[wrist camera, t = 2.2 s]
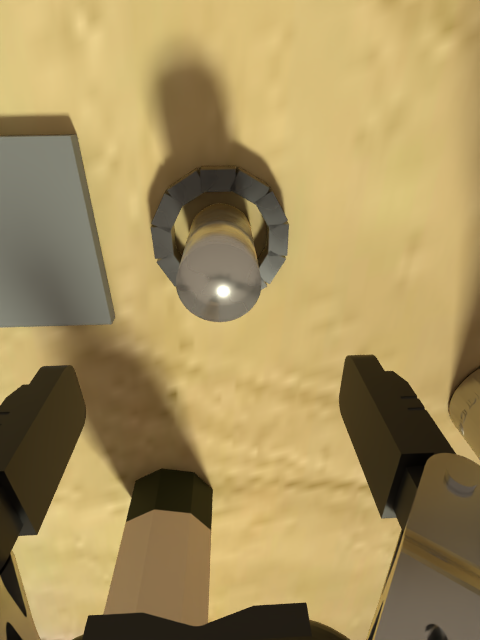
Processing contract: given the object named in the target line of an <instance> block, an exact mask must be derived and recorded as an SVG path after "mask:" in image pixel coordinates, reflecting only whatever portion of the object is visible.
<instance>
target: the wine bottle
mask: <svg viewBox="0 0 480 640" xmlns="http://www.w3.org/2000/svg"><path fill="white" fill-rule="evenodd" d="M212 494H213V489H211V488H210V487H209V486H208V485H207V484H206V483H205V482H204V481H203V480H202V479H201V478H200V477H198V476H197V475H196V474H195V473H193V472H185V471H177V470H168V469H160V470H158V471H156V472H154V473H151V474H149V475H147V476H145V477H143V478H141V479H139V480H137V481H136V483H135V487H134V491H133V495H132V499H131V503H130V507H129V511H128V515H127V520H126V524H125V528H124V532H123V536H122V540H121V544H120V548H119V552H118V557H117V561H116V565H115V569H114V573H113V577H112V581H111V585H110V589H109V594H108V598H107V602H106V606H105V610H104V614H103V615H107V614H124V613H141V612H143V613H147V614H150V615H154V616H158V617H162V618H165V619H169V620H173V621H176V622H180V623H184V624H187V625H191V626H202V625H205V624H207V623H208V605H209V577H210V550H211V522H212Z"/></svg>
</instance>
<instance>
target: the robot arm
mask: <svg viewBox="0 0 480 640" xmlns="http://www.w3.org/2000/svg"><path fill="white" fill-rule="evenodd" d="M339 406H340V412H341V415H342V418H343V421H344V423H345V426H346V428H347V431H348V434H349V436H350V439H351V441H352V444H353V446H354V449H355V452H356V454H357V457H358V459H359V462H360V464H361V467H362V470H363V472H364V475H365V477H366V480H367V482H368V485H369V488H370V490H371V493H372V495H373V498H374V500H375V503H376V506H377V508H378V511H379V513H380V516H381V518H397V519H398V522H399V524H400V526H401V529H402V530H401V532H400V535H399V538H398V542H397V545H396V548H395V551H394V554H393V558H392V561H391V564H390V567H389V570H388V574H387V577H386V580H385V583H384V586H383V590H382V593H381V596H380V599H379V602H378V605H377V608H376V611H375V614H374V617H373V620H372V623H371V626H370V629H369V632H368V635H367V638H366V640H480V465H478V464H477V463H475V462H473V461H472V460H470V459H468V458H466V457H463V456H460V455H457V454H456V453H455V452H454V450H453V449H452V447H451V446H450V444H449V443H448V441H447V440H446V438H445V437H444V435H443V434H442V432H441V431H440V429H439V428H438V426H437V425H436V423H435V422H434V421H433V419H432V418H431V416H430V415H429V413H428V412H427V410H425V409H424V406H423V404H422V403H421V401H420V400H419V399H417V395H416V394H415V392H414V391H413V389H412V388H411V386H410V385H409V383H408V382H407V381H405V380H404V379H403V378H401V377H400V376H399V375H397V374H396V373H395V372H394V371H384V369H383V368H382V366H381V365H380V363H379V361H378V360H377V358H376V357H375V356H374V355H350V356H347V357H346V359H345V363H344V369H343V375H342V381H341V388H340V394H339ZM449 414H450V417H451V420H452V422H453V423H454V425H455V426H456V428H457V429H458V430H459V432H460V433H461V435H462V436H463V437H464V439H465V440H466V441H467V443H468V444H469V446H470V447H471V448H472V450H473V451H474V453H475V454H476V455H477V457H478V458H479V460H480V368H479V369H478V370H476V371H475V372H473V373H472V374H470V375H469V376H468V377H467V378H466V379H465V380H464V381H463V382H462V383H461V384H460V385H459V387H458V388H457V389H456V391H455V392H454V394H453V396H452V398H451V402H450V406H449ZM85 418H86V407H85V402H84V399H83V396H82V393H81V389H80V386H79V383H78V379H77V376H76V373H75V370H74V368H73V367H72V366H70V365H66V366H43V367H41V368H40V369H39V371H38V372H37V374H36V375H35V377H34V378H33V379H32V381H31V382H30V384H29V385H22V386H21V387H19V388H18V389H17V390H16V391H14V392H13V393H12V394H10V395H9V396H8V397H6V399H5V400H4V401H3V403H2V404H1V405H0V640H41V639H40V637H39V635H38V632H37V630H36V627H35V625H34V621H33V618H32V615H31V611H30V608H29V604H28V601H27V597H26V593H25V590H24V586H23V583H22V579H21V576H20V572H19V569H18V565H17V562H16V558H15V555H14V553H13V551H12V548H13V546H14V544H15V542H16V540H17V538H18V536H25V535H37V534H38V532H39V529H40V527H41V525H42V522H43V520H44V518H45V515H46V513H47V511H48V508H49V506H50V504H51V501H52V499H53V497H54V494H55V492H56V490H57V487H58V485H59V483H60V480H61V478H62V476H63V473H64V471H65V469H66V466H67V464H68V462H69V459H70V457H71V455H72V452H73V450H74V448H75V445H76V443H77V441H78V438H79V436H80V434H81V431H82V429H83V427H84V423H85ZM73 640H350V639H348V638H347V637H346V636H345V635H343V634H341V633H339V632H338V631H336V630H334V629H333V628H331V627H328V626H326V625H324V624H321V623H319V622H315V621H312V620H309V616H308V610H307V604H306V603H292V604H276V605H259V606H252V607H249V608H246V609H244V610H241V611H239V612H236V613H233V614H231V615H228V616H226V617H223V618H220V619H218V620H215V621H213V622H210V623H207V624H205V625H202V626H191V625H187V624H184V623H180V622H176V621H173V620H169V619H165V618H162V617H158V616H154V615H150V614H147V613H143V612H141V613H124V614H107V615H90V616H88V619H87V623H86V626H85V630H84V634H83V635H81V636H79V637H76V638H75V639H73Z"/></svg>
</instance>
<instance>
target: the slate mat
mask: <svg viewBox="0 0 480 640" xmlns="http://www.w3.org/2000/svg"><path fill="white" fill-rule="evenodd" d="M114 319H115V313H114V309H113V304H112V299H111V295H110V290H109V285H108V280H107V276H106V271H105V266H104V261H103V257H102V252H101V247H100V242H99V238H98V233H97V228H96V224H95V219H94V214H93V209H92V205H91V200H90V195H89V190H88V186H87V181H86V176H85V171H84V167H83V162H82V157H81V152H80V148H79V143H78V138H77V135H27V136H0V327H33V326H68V325H103V324H112V323H113V321H114Z"/></svg>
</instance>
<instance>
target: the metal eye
mask: <svg viewBox="0 0 480 640" xmlns="http://www.w3.org/2000/svg"><path fill="white" fill-rule="evenodd" d="M225 191H233V192H235V193H236V194H238V195H240V196H242V197H243V198H245V199H247V200H248V201H250V202H252V203H254V204H255V205H257V207H258V209H259V211H260V212H261V214H262V216H263V218H264V220H265V221H266V223H267V234H266V247H265V248H264V250H263V251H262V253H261V255H260V256H259V258H258V260H257V261H258V266H259V271H260V275H261V290H262V289H263V288H265V287H267V284H266V282H267V283H269V284H270V283H271V281H272V280H273V278H274V277H275V275H276V274H277V272H278V271H279V269H280V267H281V266H282V264H283V263H284V261H285V260H286V258H285V256H286V255H287V249H288V230H289V224H288V222H287V221H288V220H287V218H286V216H285V214H284V212H283V210H282V208H281V206H280V204H279V203H278V201H277V199H276V197H275V195H274V193H273V191H272V189H271V188H270V187H269V186H268V184H267V183H265V182H264V181H262V180H260V179H259V178H257V177H255V176H254V175H252V174H250V173H249V172H247V171H245V170H244V169H242V168H240V167H238V169H237V171H235V166H201V169H200V170H199V169H198V168H196V169H195V170H193V171H192V172H190V173H189V174H187V175H186V176H184V177H183V178H181V179H180V180H178V181H177V182H175V183H174V184H172V185H171V186H170V187H169V188H168V189H167V191H166V192H165V194H164V196H163V198H162V200H161V203H160V205H159V207H158V209H157V212H156V214H155V216H154V218H153V221H152V223H151V224H153V225H152V226H151V233H152V240H153V247H154V255H155V259H158V260H157V264H158V265H159V266H160V267H161V269H162V270H163V271H164V273H165V274H166V275H167V277H168V278H169V279H170V281H171V282H172V283H173V285H174V286H176V277H177V273H178V269H179V266H180V262H181V259H182V255H181V253H180V252H179V250H178V249H177V248H176V238H175V228H174V223H175V221H176V218H177V216H178V214H179V212H180V210H181V208H182V206H184V205H185V204H187V203H188V202H190V201H191V200H193V199H195V198H196V197H198V196H199V195H201V194H202V193H204V192H225Z"/></svg>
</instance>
